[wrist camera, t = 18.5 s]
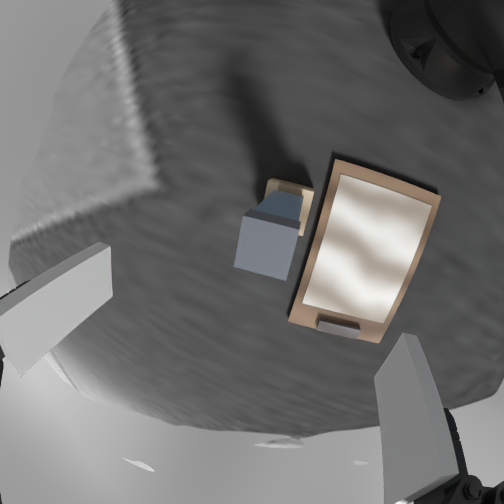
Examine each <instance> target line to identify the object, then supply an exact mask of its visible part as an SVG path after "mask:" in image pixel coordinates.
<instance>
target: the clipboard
mask: <svg viewBox="0 0 504 504" xmlns="http://www.w3.org/2000/svg"><path fill="white" fill-rule="evenodd" d="M440 199H441V196H439V195H436V194H434V193H432V192H429V191H427V190H424V189H422V188H419V187H417V186H414V185H412V184H409V183H407V182H404V181H401V180H399V179H396V178H393V177H390V176H388V175H385V174H382V173H379V172H376V171H373V170H370V169H367V168H364V167H361V166H358V165H354V164H351V163H348V162H344V161H341V160H338V159H335V161H334V165H333V169H332V173H331V177H330V181H329V185H328V189H327V192H326V196H325V200H324V204H323V207H322V211H321V215H320V218H319V222H318V225H317V229H316V232H315V236H314V239H313V243H312V246H311V249H310V253H309V256H308V259H307V263H306V266H305V269H304V272H303V276H302V279H301V282H300V285H299V288H298V291H297V294H296V297H295V301H294V304H293V307H292V310H291V313H290V316H289V318H288V322H292V323H295V324H299V325H303V326H307V327H311V328H315V329H316V330H319V331H323V332H327V333H331V334H335V335H340V336H344V337H348V338H353V339H361V340H366V341H371V342H375V343H379V342H380V340H381V339H382V337H383V335H384V333H385V331H386V329H387V328H388V326H389V324H390V322H391V320H392V318H393V316H394V314H395V312H396V310H397V308H398V306H399V304H400V302H401V300H402V298H403V296H404V294H405V292H406V289H407V287H408V285H409V283H410V281H411V278H412V276H413V274H414V271H415V269H416V267H417V264H418V262H419V259H420V257H421V254H422V252H423V249H424V247H425V244H426V241H427V239H428V236H429V233H430V230H431V227H432V224H433V221H434V218H435V215H436V212H437V209H438V206H439V203H440Z"/></svg>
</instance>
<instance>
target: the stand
mask: <svg viewBox="0 0 504 504" xmlns="http://www.w3.org/2000/svg"><path fill="white" fill-rule="evenodd" d="M273 190H279V191H283V192H287V193H291V194H295V195H299V196H303V197H304V198H303V203H302V208H301V213H300V218H299V221H301V224H300V230H299V234H298V235H300V236H303V233H304V229H305V225H306V222H307V218H308V214H309V210H310V207H311V203H312V199H313V195H314V188H311V187H307V186H303V185H299V184H296V183H292V182H288V181H284V180H280V179H275V178H271V179H269V180H268V183H267V187H266V192H265V197H264V199H265V198H266V197H267V196H268V195H269V194H270V193H271V192H272V191H273Z"/></svg>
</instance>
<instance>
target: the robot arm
mask: <svg viewBox="0 0 504 504" xmlns="http://www.w3.org/2000/svg"><path fill="white" fill-rule="evenodd" d="M389 33H390V38H391V41H392V44H393V46H394V49H395V51H396V53H397V54H398V56H399V58H400V59H401V61H402V62H403V64H404V65H405V66H406V68H407V69H408V70H409V71H410V72H411V73H412V74H413V76H414V77H416V78H417V79H418V80H419V81H420V82H421V83H422V84H423V85H425V86H426V87H427V88H429V89H430V90H432V91H434V92H435V93H437V94H439V95H441V96H444V97H446V98H449V99H454V100H468V99H472V98H476V97H479V96H481V95H483V94H484V93H486V92H487V91H488V90H489V88H490V87H491V86H492V85H493V83H494V82H495V81H496V83H497V85H498V88H499V91H500V94H501V96H502V99H503V102H504V0H401V1H400V2H399V3H398V4H397V6H396V7H395V9H394V11H393V12H392V14H391V17H390V21H389ZM112 296H113V293H112V277H111V246H109V245H106V244H103V243H101V242H98V243H96V244H94V245H92V246H90V247H88V248H86V249H84V250H83V251H81V252H79V253H77V254H75V255H73V256H72V257H70V258H68V259H66V260H65V261H63V262H61V263H59V264H58V265H56V266H54V267H52V268H51V269H49V270H47V271H46V272H44V273H42V274H41V275H39V276H37V277H36V278H34V279H32V280H29V281H26V282H24V283H22V284H21V285H19V286H17V287H16V289H13V290H11V291H10V292H9V293H7V294H5V295H3V296H2V297H0V386H1V379H2V373H3V361H2V359H3V358H4V357H6V359H7V361H8V363H9V365H10V367H11V368H12V369H13V370H14V371H15V372H16V373H17V374H18V375H19V376H20V377H22V376H23V375H24V374H25V373H26V372H27V371H28V370H29V369H30V368H31V367H32V366H33V365H34V364H36V363H37V362H38V361H39V360H40V359H41V358H42V357H43V356H44V355H45V354H46V353H47V352H49V351H50V350H51V349H52V348H53V347H54V346H55V345H56V344H57V343H59V342H60V341H61V340H62V339H63V338H64V337H65V336H66V335H68V334H69V333H70V332H71V331H72V330H73V329H74V328H76V327H77V326H78V325H79V324H80V323H81V322H83V321H84V320H85V319H86V318H87V317H88V316H90V315H91V314H92V313H93V312H94V311H96V310H97V309H98V308H99V307H100V306H102V305H103V304H104V303H105V302H106V301H108V300H109V299H110V298H111V297H112ZM374 382H375V389H376V396H377V404H378V412H379V421H380V430H381V440H382V441H381V442H382V455H383V473H384V504H409V503H411V502H413V501H414V504H504V481H503V482H501V483H500V484H498V485H497V486H495V487H494V488H491V487H484V486H482V484H481V481H480V480H479V479H478V478H477V477H476V476H473V475H468V472H467V467H466V462H465V458H464V454H463V449H462V445H461V442H460V441H459V439H460V438H459V434H458V432H457V427H456V423H455V420H454V418H453V416H452V415H451V413H450V412H449V410H448V409H447V408H443V406H442V403H441V400H440V397H439V394H438V391H437V388H436V385H435V382H434V379H433V376H432V374H431V371H430V368H429V365H428V363H427V360H426V358H425V355H424V352H423V350H422V347H421V345H420V343H419V340H418V338H417V336H415V335H411V334H406V333H402V334H401V336H400V338H399V340H398V341H397V343H396V344H395V346H394V348H393V349H392V351H391V353H390V354H389V356H388V357H387V359H386V360H385V362H384V363H383V365H382V366H381V368H380V369H379V371H378V372H377V374H376V375H375V377H374ZM0 504H2V501H1V495H0Z"/></svg>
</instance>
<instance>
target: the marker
mask: <svg viewBox="0 0 504 504" xmlns="http://www.w3.org/2000/svg"><path fill="white" fill-rule="evenodd" d="M303 198H304V197H303V196H299V195H295V194H291V193H287V192H283V191H279V190H273V191H272V192H271V193H270V194H269V195H268V196H267V197H266V198H265V199H264V200H263V201H262V202H261V203H260V204H259V205H258V206H257V207H256V208H255V209H254V210H253V209H250V210H249V211H248V212H247V213H245V214H244V215H243V219H242V224H241V230H240V235H239V241H238V246H237V252H236V257H235V263H234V267H237V268H240V269H244V270H248V271H251V272H255V273H259V274H263V275H266V276H270V277H274V278H278V279H281V280H285V281H286V279H287V275H288V271H289V268H290V264H291V260H292V257H293V253H294V249H295V245H296V242H297V238H298V234H299V230H300V224H301V221H299V218H300V213H301V208H302V203H303Z"/></svg>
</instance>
